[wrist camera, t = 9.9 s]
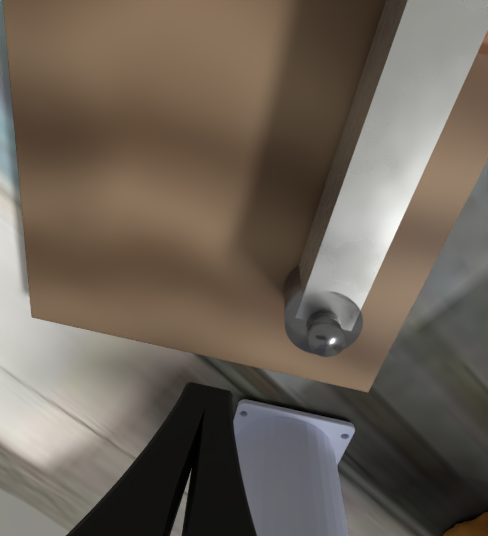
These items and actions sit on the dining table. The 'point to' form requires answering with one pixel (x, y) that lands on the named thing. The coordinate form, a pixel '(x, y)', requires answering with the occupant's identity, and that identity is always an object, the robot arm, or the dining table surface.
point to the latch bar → (379, 163)
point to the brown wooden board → (209, 170)
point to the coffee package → (471, 527)
